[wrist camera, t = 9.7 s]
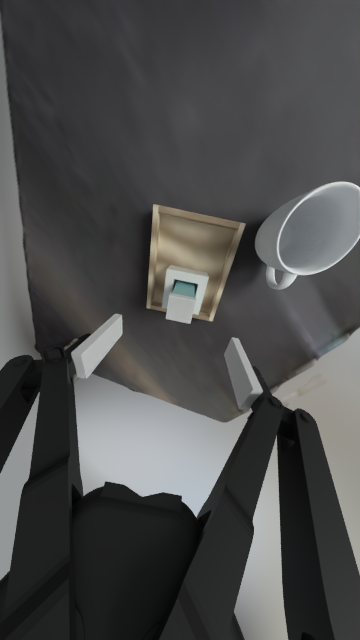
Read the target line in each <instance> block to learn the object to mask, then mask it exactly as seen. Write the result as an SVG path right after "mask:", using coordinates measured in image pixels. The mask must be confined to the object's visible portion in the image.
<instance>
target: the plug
mask: <svg viewBox="0 0 360 640" xmlns="http://www.w3.org/2000/svg"><path fill="white" fill-rule="evenodd" d="M195 304H196V298H195V286H194V283H190V282H186V281H181V280H178V281H177V283H176V285H175V287H174V290H173V292H172V293H170V295H169V300H168V307H167V314H166V319H169V320H174V321H179V322H184V323H189V324H190V323H191V319H192V315H193V312H194V308H195Z"/></svg>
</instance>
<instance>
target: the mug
mask: <svg viewBox="0 0 360 640" xmlns="http://www.w3.org/2000/svg"><path fill="white" fill-rule="evenodd" d="M359 238H360V187H358V186H357V185H355V184H352V183H349V182H334V183H329V184H326V185H323V186H320V187H318V188H316V189H314V190H312V191H310V192H307V193H305V194H303V195H301V196H298V197H297V198H295V199H292V200H291V201H289V202H287V203H285V204H284V205H282V206H281V207H280V208H278V209H277V210H275V211H274V212H273V213H272V214H271V215H270V216H269V217H268V218H267V219H266V220H265V221H264V222H263V224H262V225H261V226H260V228H259V230H258V232H257V234H256V238H255V250H256V253H257V255H258V256H259V258H260V259H261V260H262V261H263V262H264V263H265V264H267V269H266V280H267V283H268V285H269V286H270V287H271V288H272V289H278V290H279V289H284V288H287V287H288V286H289V285H290V284H291V283H292V282H293V281H294V280H295V278H296V276H297V275H310V274H315V273H318V272H321V271H323V270H325V269H327V268H329V267H331V266H333V265H334V264H336V263H337V262H338V261H340V260H341V259H342V258H343V257H344V256H345V255H346V254H347V253H348V252H349V251H350V250H351V249H352V248H353V247H354V245H355V244H356V243H357V241H358V240H359ZM275 269H278V270H280V271H284V275H283V279H282V281H281V282H280V284H277V283H276V281H275V276H274V270H275Z"/></svg>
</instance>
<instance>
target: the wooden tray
mask: <svg viewBox="0 0 360 640" xmlns="http://www.w3.org/2000/svg"><path fill="white" fill-rule="evenodd" d="M245 225H246V224H245V223H240V222H235V221H231V220H226V219H221V218H216V217H212V216H207V215H202V214H197V213H193V212H188V211H183V210H179V209H174V208H169V207H164V206H160V205H155V204H154V205H153V220H152V235H151V249H150V264H149V279H148V293H147V308H148V309H153V310H158V311H163V312H167V308H162V302H163V294H164V286H165V278H166V271H167V268H168V267H169V266H170V265H173V266H178V267H183V268H188V269H193V270H198V271H202V272H207V274H208V276H209V279H208V283H207V286H206V290H205V293H204V297H203V301H202V304H201V308H200V311H199V315H196V314H193V315H192V317H193V318H198V319H203V320H207V321H213V318H214V315H215V312H216V309H217V306H218V303H219V300H220V297H221V294H222V292H223V289H224V286H225V283H226V280H227V277H228V274H229V271H230V268H231V265H232V262H233V260H234V257H235V254H236V251H237V248H238V245H239V242H240V239H241V236H242V233H243V230H244V228H245Z"/></svg>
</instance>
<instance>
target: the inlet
mask: <svg viewBox="0 0 360 640" xmlns="http://www.w3.org/2000/svg"><path fill="white" fill-rule="evenodd" d="M208 279H209V276H208V274H207V272H202V271H198V270H193V269H188V268H183V267H178V266H173V265H170V266H169V267H168V268H167V271H166V278H165V286H164V294H163V302H162V308H167V307H168V300H169V295H170V293H172V292H173V290H174V287H175V285H176V283H177V281H178V280H181V281H186V282H190V283H194V286H195V298H196V304H195V308H194V312H193V314H196V315H199V311H200V308H201V304H202V301H203V297H204V293H205V290H206V286H207V283H208Z"/></svg>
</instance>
